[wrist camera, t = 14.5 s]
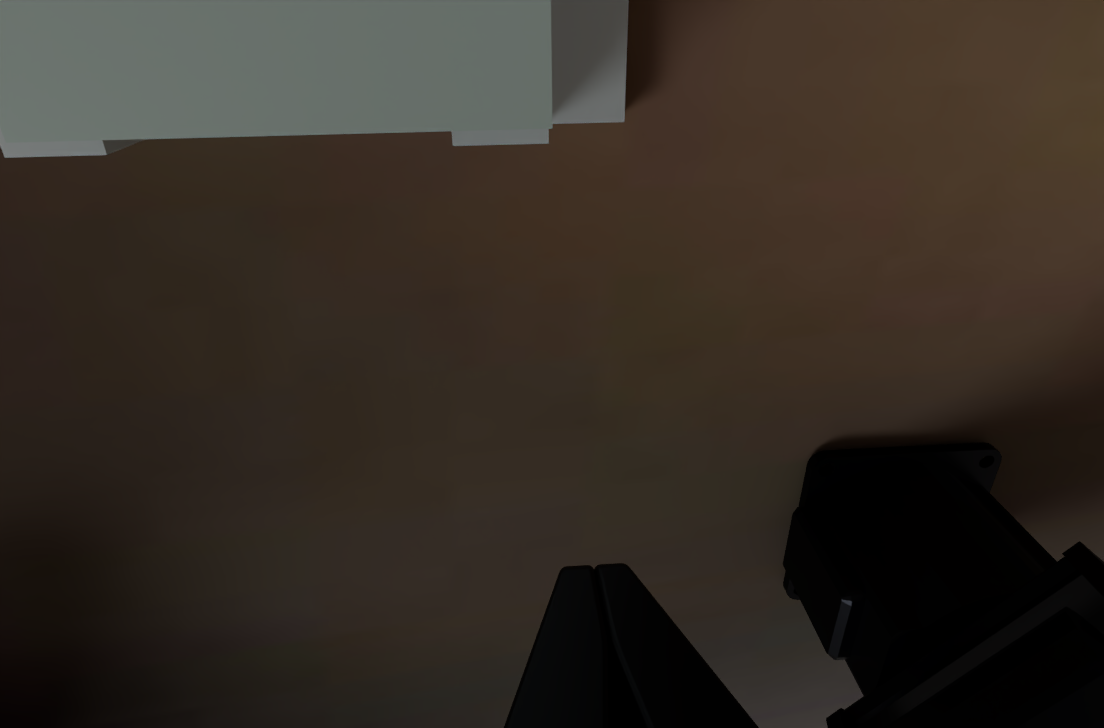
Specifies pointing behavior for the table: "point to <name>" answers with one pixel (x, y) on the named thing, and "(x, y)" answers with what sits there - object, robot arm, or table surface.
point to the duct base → (577, 97)
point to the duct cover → (271, 67)
